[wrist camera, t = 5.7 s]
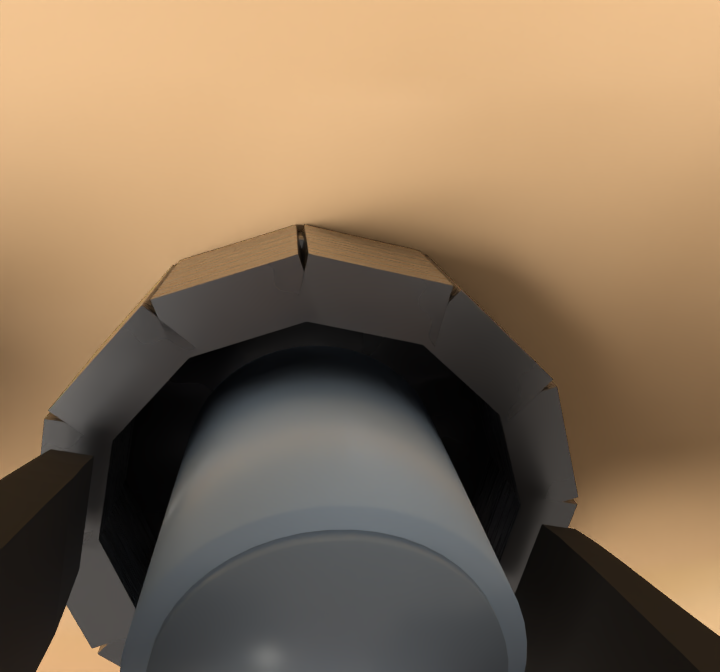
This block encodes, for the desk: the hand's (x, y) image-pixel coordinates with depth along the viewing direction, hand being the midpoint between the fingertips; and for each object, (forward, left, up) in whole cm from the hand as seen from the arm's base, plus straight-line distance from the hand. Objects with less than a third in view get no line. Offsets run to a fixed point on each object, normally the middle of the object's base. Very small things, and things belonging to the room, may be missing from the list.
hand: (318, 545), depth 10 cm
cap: (0, 0, -2) cm, 2 cm away
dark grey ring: (0, 0, -3) cm, 3 cm away
